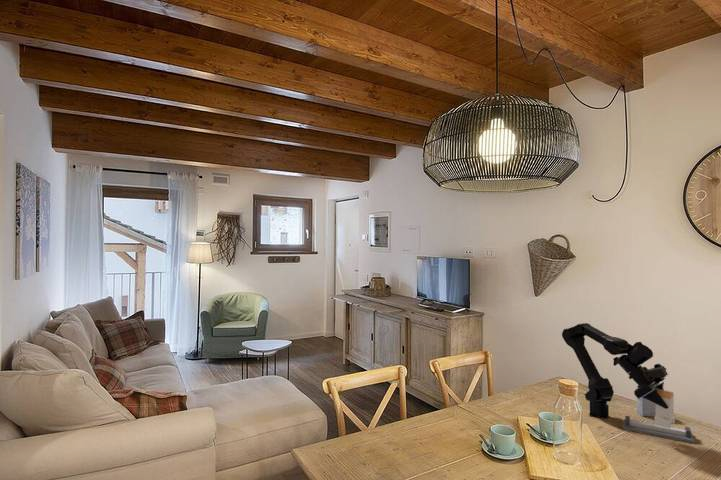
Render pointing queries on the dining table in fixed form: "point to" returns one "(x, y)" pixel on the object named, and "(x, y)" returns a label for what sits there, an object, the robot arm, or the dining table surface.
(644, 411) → the medicine box
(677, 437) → the board
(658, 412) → the white upright block
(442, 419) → the dining table surface
